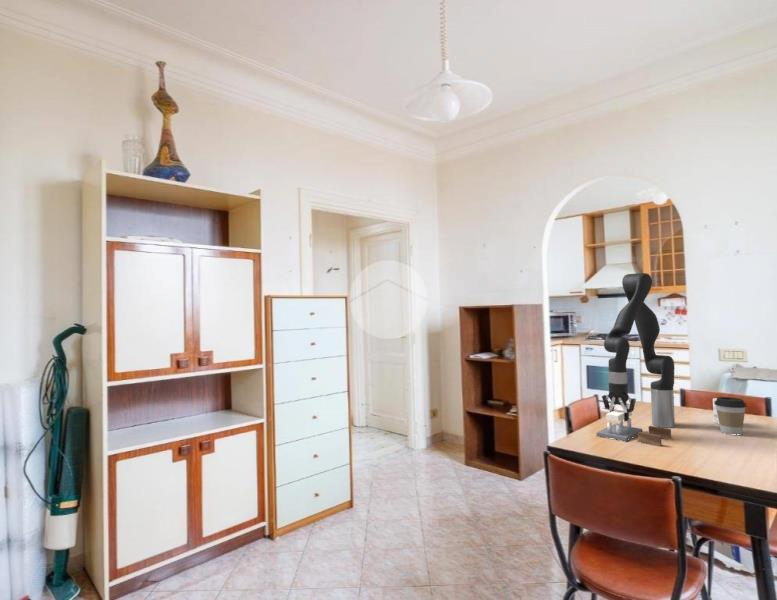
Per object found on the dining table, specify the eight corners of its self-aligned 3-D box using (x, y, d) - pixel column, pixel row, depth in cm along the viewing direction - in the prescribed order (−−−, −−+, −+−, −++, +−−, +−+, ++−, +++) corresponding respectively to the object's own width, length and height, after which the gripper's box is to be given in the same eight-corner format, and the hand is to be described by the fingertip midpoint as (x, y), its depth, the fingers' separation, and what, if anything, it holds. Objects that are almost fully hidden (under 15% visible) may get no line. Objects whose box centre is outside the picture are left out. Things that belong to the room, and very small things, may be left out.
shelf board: (620, 413, 202) (620, 408, 202) (631, 415, 198) (631, 409, 198) (606, 419, 191) (605, 414, 191) (618, 421, 188) (618, 415, 188)
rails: (650, 434, 192) (650, 425, 192) (671, 438, 186) (670, 429, 187) (638, 442, 182) (638, 432, 182) (660, 446, 176) (659, 436, 176)
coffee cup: (736, 429, 197) (734, 396, 198) (754, 436, 186) (753, 401, 187) (709, 429, 199) (708, 396, 199) (726, 436, 187) (724, 401, 188)
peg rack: (614, 427, 206) (614, 414, 206) (642, 432, 197) (641, 418, 197) (596, 436, 192) (596, 422, 193) (625, 441, 184) (625, 427, 184)
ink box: (737, 427, 202) (736, 401, 202) (726, 427, 202) (725, 401, 202) (723, 422, 210) (722, 397, 211) (713, 422, 210) (712, 398, 211)
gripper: (638, 382, 193) (639, 421, 192) (604, 379, 203) (606, 415, 203) (632, 384, 188) (633, 424, 187) (598, 381, 198) (599, 418, 198)
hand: (619, 419), depth 195 cm, fingers closed on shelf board, 5 cm apart
